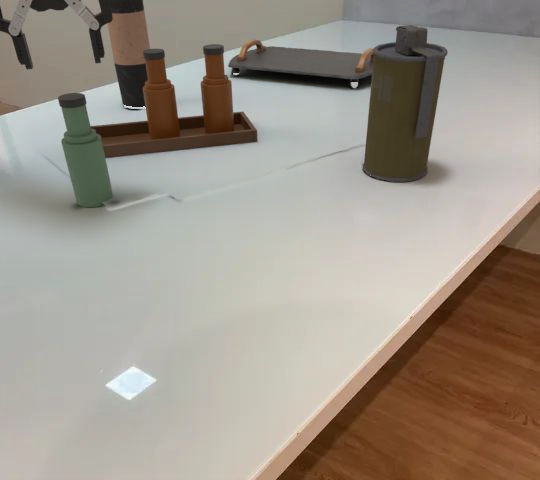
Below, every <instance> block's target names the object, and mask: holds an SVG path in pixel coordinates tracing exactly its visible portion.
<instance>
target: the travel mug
mask: <svg viewBox="0 0 540 480" xmlns="http://www.w3.org/2000/svg"><path fill="white" fill-rule="evenodd" d="M109 3H110V8H111V12H112V16H113V20H112V22H110V23H107V24H106V25H107V30H108V35H109V40H110V41H109V42H110V47H111V52H112V53H111V54H112V59H113V63H114V64H113V65H114V68H115V73H116V79H117V83H118V87H119V92H120V97H121V98H120V99H121V102H122V105H123V104H124V105H126V106H132V107H143V106H145V100H144V94H143V87H144V86H145V82H146V81H148V77H147V70H146V63H145V59H144V56H143V51H144V50H147V49H151V47H150V39H149V33H148V32H149V31H148V27H147V26H148V25H147V20H146V13H145V6H144V0H109Z"/></svg>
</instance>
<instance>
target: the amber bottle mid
mask: <svg viewBox="0 0 540 480" xmlns="http://www.w3.org/2000/svg"><path fill="white" fill-rule="evenodd" d="M165 52H166V51H165V50H164V49H163V48H150V49H147V50H144V51H143V56H144V59H145V63H146V70H147V77H148V81H146V82H145V86H144V87H143V94H144V100H145V107H146V109H145V111H146V113H145V114H146V117H147V118H146V119H147V120H146V121H148V126H149V133H150V139H151V140H152V139H162V138H172V137H180V129H179V121H178V118H179V114H178V105H177V97H176V88H175V85H174V84H173V83H172V81H171V79H168V75H167V68H166V60H165V57H166V53H165Z"/></svg>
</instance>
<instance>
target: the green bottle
mask: <svg viewBox="0 0 540 480" xmlns="http://www.w3.org/2000/svg"><path fill="white" fill-rule="evenodd" d="M57 100H58V104H59V107H60V108H61V113H62V116H63V119H64V124H65V129H66V131H65V132H63V138H62V139H60V142H61V147H62V150H63V154H64V158H65V162H66V165H67V169H68V173H69V177H70V182H71V185H72V189H73V193H74V197H75V200H76V204H77V205H79V206H80V207H83V208H99V207H102V206H103V207H104V206H105V203H104V202H107V201H109V200H111V198H113V196H114V191H113V187H112V183H111V178H110V173H109V169H108V168H109V167H108V163H107V158H105V154H104V149H103V144H102V140H101V136H100V135H99V134H97V133H96V130H95V129H92V128H91V127H90V126H91V121H90V117H89V114H88V109H87V99H86V95H85V93H81V92H70V93H64V94H61V95H58V97H57Z"/></svg>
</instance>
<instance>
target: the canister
mask: <svg viewBox="0 0 540 480" xmlns="http://www.w3.org/2000/svg"><path fill="white" fill-rule="evenodd" d="M395 31H396V36H395V41H394V42H386V43H381V44H378V45H376V46H374V47H373V54H374V60H373V71H372V75H371V82H370V94H369V104H368V114H367V115H368V116H367V124H366V125H367V127H366V137H365V146H364V147H365V149H364V160H363V164H362V166H363V169H362V171H363V170H364V171H365V172H366V173H367V174H369V175H371V176H373V177H376V178H378V179H377V180H379V179H382V180H381V181H383V182H388V183H389V182H390V181H391V183H408V182H413V181H417V180H420V179H422V178H424V177H425V176H427V174H428V172H429V168H428V161H429V155H430V148H431V144H432V143H431V142H432V137H433V130H434V124H435V120H436V113H437V108H438V101H439V94H440V89H441V82H442V78H443V77H442V76H443V71H444V64H445V60H446V59H445V58H446V57H447V55H448V53H449V50H448V49H447V48H446V47H445V46H442V45H439V44H435V43H432V42H431V43H430V42H428V28H427V27H423V26H417V25H413V24H408V25H399V26H396V27H395ZM364 171H363V172H364ZM365 172H364V173H365ZM366 173H365V174H366ZM367 174H366V175H367ZM369 175H368V176H369ZM371 176H369V177H371ZM423 176H424V177H423ZM373 177H371V178H373ZM376 178H375V179H376ZM384 180H386V181H384Z"/></svg>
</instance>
